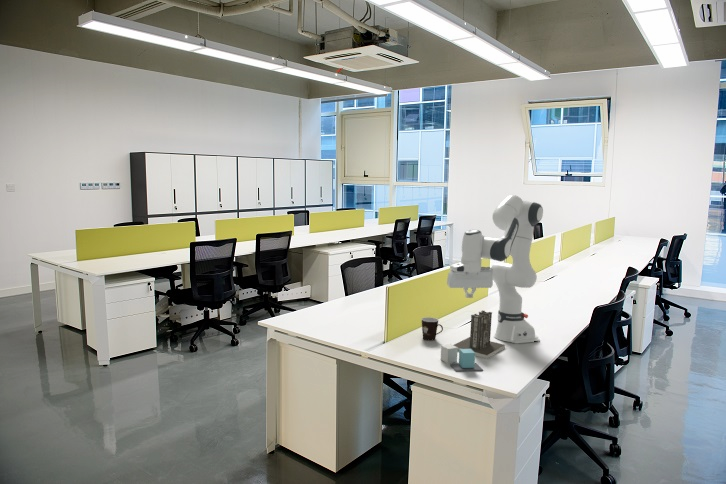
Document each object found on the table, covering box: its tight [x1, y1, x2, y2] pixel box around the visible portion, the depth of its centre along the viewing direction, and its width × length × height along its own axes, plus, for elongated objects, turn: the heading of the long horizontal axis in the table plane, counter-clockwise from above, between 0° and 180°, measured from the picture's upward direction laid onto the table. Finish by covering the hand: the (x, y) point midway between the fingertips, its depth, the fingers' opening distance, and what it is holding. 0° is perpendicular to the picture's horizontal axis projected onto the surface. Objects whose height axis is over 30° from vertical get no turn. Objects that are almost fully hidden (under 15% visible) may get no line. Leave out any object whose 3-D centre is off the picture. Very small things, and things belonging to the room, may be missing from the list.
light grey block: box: [440, 343, 459, 364], centre depth 222 cm, size 5×5×7 cm
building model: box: [453, 310, 506, 359], centre depth 238 cm, size 20×20×18 cm
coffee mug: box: [421, 316, 444, 342], centre depth 251 cm, size 12×9×10 cm
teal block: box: [458, 349, 476, 368], centre depth 214 cm, size 5×5×7 cm
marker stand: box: [449, 362, 484, 373], centre depth 214 cm, size 12×8×7 cm, turn 98°
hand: (469, 297), depth 220 cm, fingers closed
